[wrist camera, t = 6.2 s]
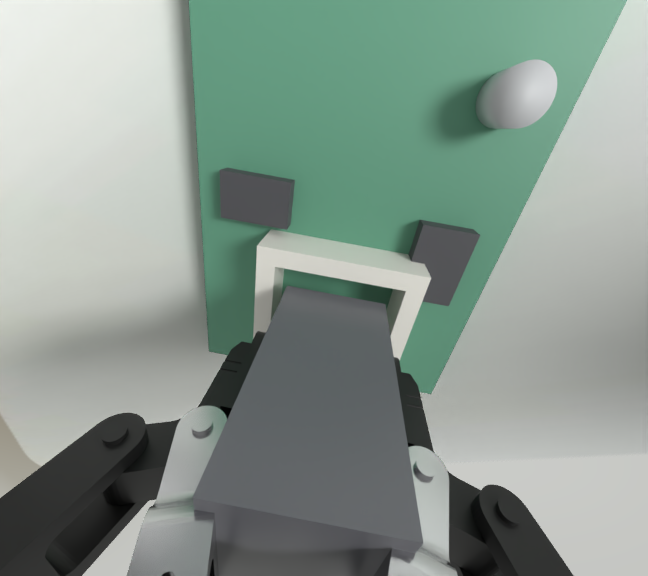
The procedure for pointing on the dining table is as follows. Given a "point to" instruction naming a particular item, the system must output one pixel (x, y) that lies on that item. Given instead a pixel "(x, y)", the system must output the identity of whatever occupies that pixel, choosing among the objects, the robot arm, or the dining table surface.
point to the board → (379, 140)
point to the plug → (314, 448)
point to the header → (340, 276)
